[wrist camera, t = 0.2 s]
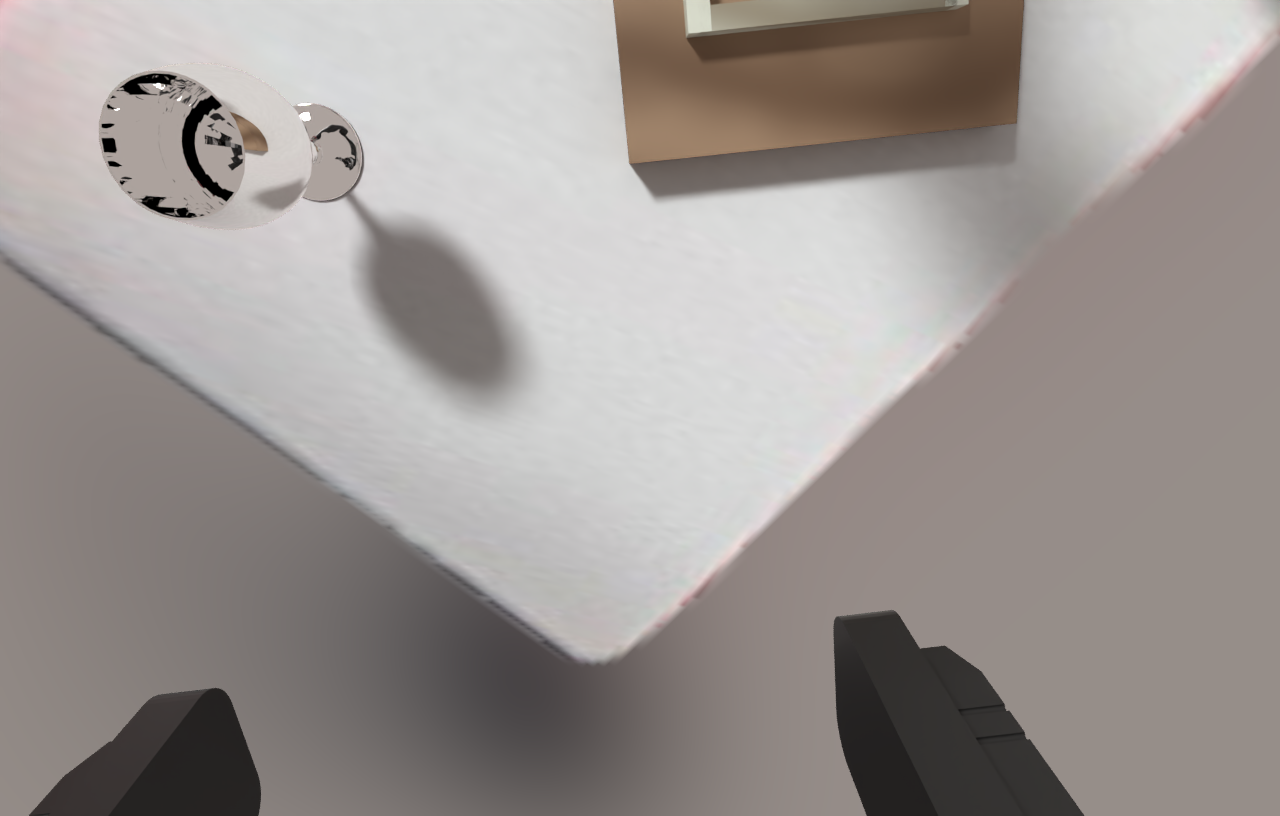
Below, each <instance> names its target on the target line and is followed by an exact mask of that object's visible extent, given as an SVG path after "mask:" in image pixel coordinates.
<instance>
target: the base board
mask: <svg viewBox="0 0 1280 816" xmlns="http://www.w3.org/2000/svg"><path fill="white" fill-rule="evenodd" d="M613 3H614V13H615V23H616V33H617V43H618V53H619V64H620V74H621V84H622V94H623V104H624V114H625V124H626V134H627V145H628V155H629V164H633V163H643V162H652V161H662V160H671V159H681V158H690V157H700V156H709V155H719V154H728V153H738V152H747V151H757V150H766V149H776V148H785V147H795V146H804V145H814V144H823V143H833V142H843V141H852V140H862V139H871V138H881V137H890V136H900V135H909V134H919V133H928V132H938V131H947V130H957V129H966V128H976V127H985V126H995V125H1004V124H1014V123H1017V107H1018V90H1019V74H1020V57H1021V40H1022V24H1023V7H1024V0H613Z"/></svg>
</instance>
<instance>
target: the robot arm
mask: <svg viewBox="0 0 1280 816" xmlns="http://www.w3.org/2000/svg"><path fill="white" fill-rule="evenodd" d="M834 657H835V658H834V659H835V685H836V710H837V722H838V729H839V734H840V740H841V744H842V748H843V752H844V756H845V759H846V762H847V765H848V768H849V770H850V773H851V776H852V778H853V781H854V783H855V786H856V789H857V791H858V794H859V796H860V798H861V802H862V804H863V807H864V809H865V812H866V815H867V816H1084V814H1083V813H1082V812H1081V811H1080V809H1079V808H1078V806H1077V805H1076V803H1075V802H1074V801H1073V799H1072V798H1071V796H1070V795H1069V794H1068V792H1067V791H1066V789H1065V788H1064V787H1063V785H1062V784H1061V782H1060V781H1059V780H1058V778H1057V777H1056V775H1055V774H1054V773H1053V771H1052V770H1051V768H1050V767H1049V766H1048V764H1047V763H1046V762H1045V760H1044V759H1043V757H1042V756H1041V755H1040V753H1039V752H1038V750H1037V749H1036V748H1035V746H1034V745H1033V743H1032V742H1031V740H1030V739H1029V740H1027V739H1026V737H1025V732H1024V731H1023V729H1022V728H1021V727H1020V725H1019V724H1018V722H1017V721H1016V720H1015V718H1014V717H1013V715H1012V714H1011V712H1010V711H1006V709H1005V705H1004V703H1003V701H1002V700H1001V699H1000V697H999V696H998V694H997V693H996V692H995V690H994V689H993V687H992V686H991V684H990V683H989V682H988V680H987V679H986V678H985V676H984V675H983V673H982V672H981V671H980V670H979V669H977V668H976V667H974V666H973V665H971V664H970V663H969V662H967V661H966V660H964V659H963V658H961V657H960V656H959V655H957V654H956V653H954V652H953V651H952V650H950V649H948V648H947V647H946V646H939V647H930V648H922V649H920V648H919V647H918V645H917V644H916V642H915V640H914V639H913V637H912V635H911V634H910V632H909V630H908V629H907V627H906V626H905V624H904V622H903V621H902V619H901V618H900V616H899V615H898V614H897V613H896V612H895V611H894V610H889V611H882V612H872V613H864V614H855V615H847V616H838V617H836V618H835V620H834ZM260 802H261V788H260V781H259V777H258V774H257V771H256V768H255V765H254V763H253V760H252V757H251V754H250V751H249V749H248V746H247V743H246V740H245V738H244V735H243V732H242V729H241V727H240V724H239V721H238V718H237V716H236V713H235V710H234V707H233V705H232V702H231V700H230V698H229V696H228V695H227V693H226V692H224V691H223V690H221V689H219V688H212V689H204V690H195V691H187V692H178V693H169V694H161V695H157V696H155V697H152V698H151V699H150V700H148V701H147V702H146V703H145V704H144V705H143V706H142V707H141V709H140V710H139V711H138V712H137V713H136V714H135V716H134V717H133V718H132V719H131V720H130V721H129V723H128V724H127V725H126V726H125V727H124V728H123V729H122V731H121V732H120V733H119V734H118V735H117V736H116V738H115V739H114V740H113V741H112V742H108V743H107V744H106V745H105V746H103V747H102V748H101V749H99V750H98V751H97V752H95V753H94V754H93V755H91V756H90V757H89V758H87V759H86V760H85V761H83V762H82V763H81V764H79V765H78V766H77V767H76V768H74V769H73V770H72V771H70V772H69V773H68V774H66V775H65V776H64V777H63V778H62V779H61V780H60V781H59V782H58V783H57V785H56V786H55V787H54V788H53V789H52V790H51V791H50V792H49V794H48V795H47V796H46V797H45V798H44V799H43V800H42V801H41V802H40V804H39V805H38V806H37V807H36V808H35V809H34V810H33V812H32V813H31V814H30V815H29V816H258V815H259V809H260Z"/></svg>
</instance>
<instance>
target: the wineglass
mask: <svg viewBox="0 0 1280 816" xmlns="http://www.w3.org/2000/svg"><path fill="white" fill-rule="evenodd" d="M99 142H100V146H101V150H102V155H103V158H104V160H105V163H106V165H107V167H108V169H109V171H110V173H111V175H112V176H113V178H114V179H115V181H116V182H117V183H118V185H119V186H120V187H121V189H122V190H123V191H124V192H125V193H126V194H127V195H128V196H130V197H131V198H132V199H133V200H134V201H135V202H136V203H137V204H139V205H140V206H142V207H143V208H145V209H147V210H148V211H150V212H152V213H155V214H157V215H159V216H162V217H165V218H169V219H172V220H175V221H179V222H182V223H185V224H189V225H193V226H197V227H202V228H210V229H218V230H242V229H250V228H255V227H259V226H263V225H266V224H268V223H270V222H272V221H274V220H276V219H278V218H280V217H282V216H283V215H285V214H286V213H287V212H289V211H290V210H291V209H292V208H293V207H294V206H295V205H296V204H297V203H298V202H299V201H300V199H301V198H302V197H305V198H307V199H310V200H319V201H324V200H332V199H335V198H337V197H340V196H342V195H343V194H345V193H346V192H347V191H349V190H350V189H351V188H352V186H353V185H354V184H355V183H356V181H357V179H358V177H359V175H360V171H361V167H362V150H361V145H360V142H359V139H358V137H357V135H356V133H355V131H354V129H353V128H352V126H351V125H350V123H349V122H348V121H347V120H346V119H345V118H344V117H343V116H342V115H340V114H339V113H337V112H336V111H334V110H333V109H331V108H329V107H326V106H324V105H321V104H315V103H302V104H296V105H294V106H292V105H291V104H290V103H289V102H288V101H287V100H286V99H285V98H284V97H283V96H282V95H281V93H280V92H279V91H277V90H276V89H275V88H273V87H272V86H270V85H269V84H268V83H266V82H264V81H263V80H261V79H260V78H258V77H255V76H253V75H251V74H249V73H247V72H245V71H242V70H239V69H236V68H233V67H229V66H224V65H219V64H212V63H185V64H174V65H167V66H163V67H159V68H155V69H151V70H148V71H145V72H142V73H139V74H136V75H133V76H131V77H129V78H128V79H126V80H124V81H123V82H121V83H120V84H119V85H118V86H117V87H116V88H115V89H114V90H113V91H112V92H111V93H110V95H109V97H108V98H107V100H106V102H105V104H104V105H103V109H102V113H101V117H100V121H99Z"/></svg>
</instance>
